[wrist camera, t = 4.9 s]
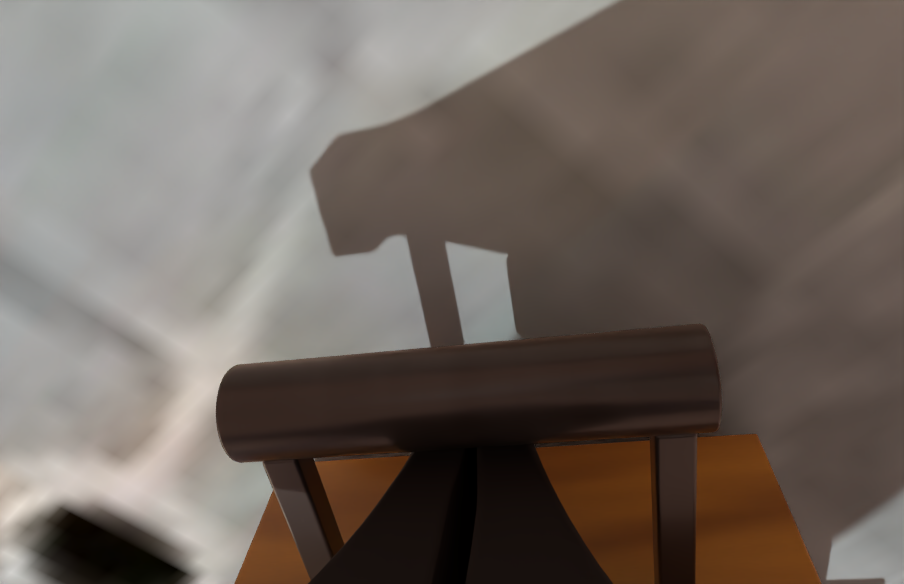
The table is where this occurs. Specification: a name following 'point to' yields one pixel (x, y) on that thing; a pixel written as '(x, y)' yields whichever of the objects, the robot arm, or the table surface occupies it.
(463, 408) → the drawer
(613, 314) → the table surface
